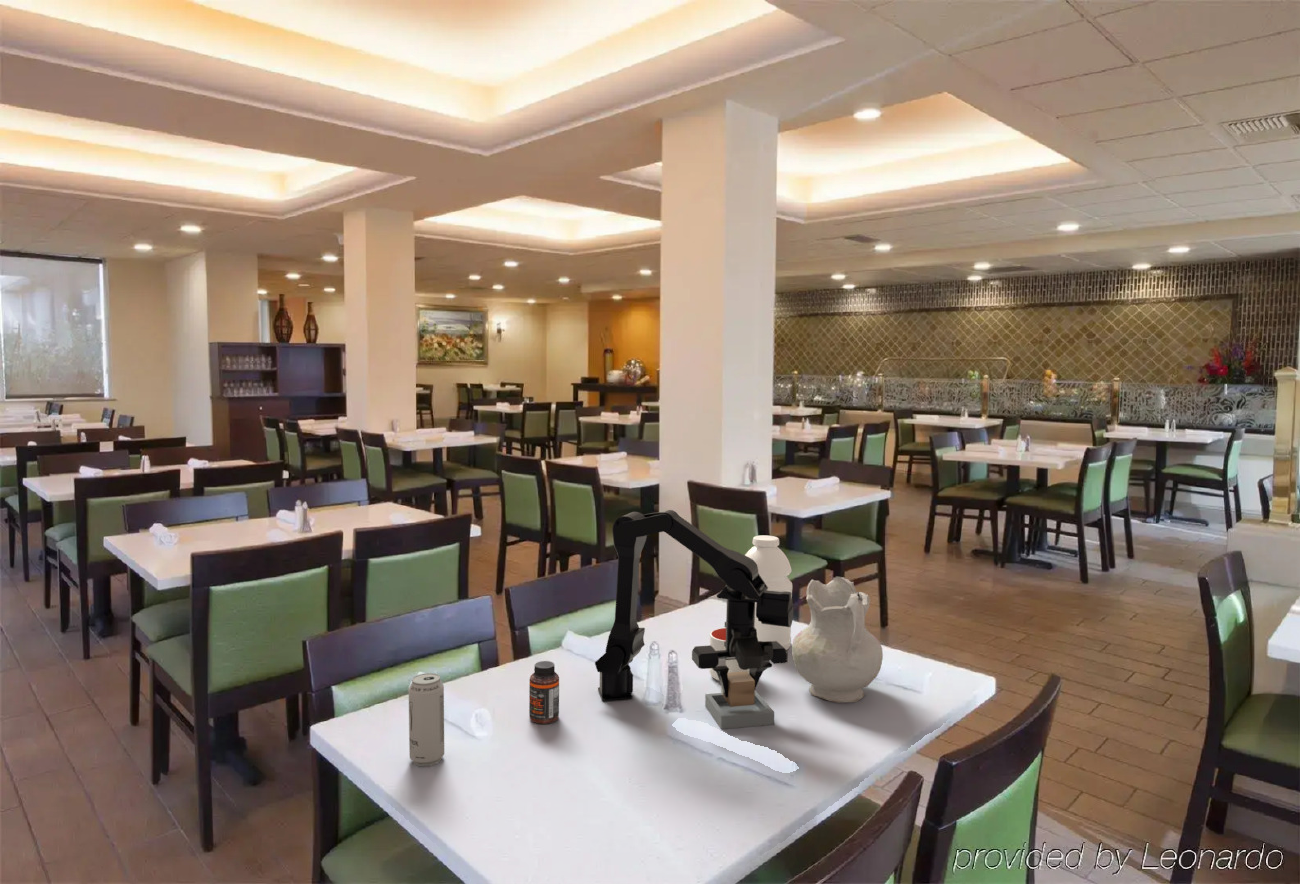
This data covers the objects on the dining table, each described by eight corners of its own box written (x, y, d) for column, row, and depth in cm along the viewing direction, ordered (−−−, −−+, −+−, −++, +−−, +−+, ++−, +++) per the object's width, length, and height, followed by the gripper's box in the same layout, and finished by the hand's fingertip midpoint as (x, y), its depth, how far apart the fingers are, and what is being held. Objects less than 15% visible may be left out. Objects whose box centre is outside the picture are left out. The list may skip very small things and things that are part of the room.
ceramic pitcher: (905, 712, 168) (917, 595, 166) (826, 719, 160) (838, 597, 159) (843, 676, 188) (854, 572, 186) (771, 681, 181) (781, 572, 179)
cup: (755, 685, 179) (756, 642, 178) (710, 684, 179) (711, 641, 178) (750, 669, 189) (751, 627, 188) (708, 668, 189) (708, 627, 188)
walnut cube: (723, 696, 165) (723, 673, 164) (746, 694, 166) (746, 671, 165) (730, 706, 160) (731, 682, 160) (754, 704, 161) (754, 680, 161)
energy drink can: (408, 754, 145) (407, 674, 144) (442, 749, 147) (441, 670, 146) (410, 770, 139) (409, 686, 138) (446, 764, 141) (445, 682, 140)
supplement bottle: (523, 721, 159) (523, 665, 158) (540, 710, 165) (540, 656, 164) (547, 727, 157) (547, 671, 156) (564, 716, 162) (565, 661, 161)
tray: (721, 729, 157) (721, 716, 156) (705, 706, 167) (705, 694, 167) (774, 724, 159) (774, 711, 159) (754, 701, 170) (755, 690, 170)
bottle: (729, 637, 211) (731, 532, 209) (779, 634, 214) (782, 531, 211) (745, 655, 197) (748, 544, 195) (798, 652, 200) (802, 542, 197)
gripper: (707, 636, 152) (706, 715, 153) (799, 630, 156) (797, 708, 157) (691, 618, 162) (690, 692, 164) (778, 613, 167) (776, 686, 168)
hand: (738, 695), depth 163 cm, fingers closed on walnut cube, 5 cm apart
